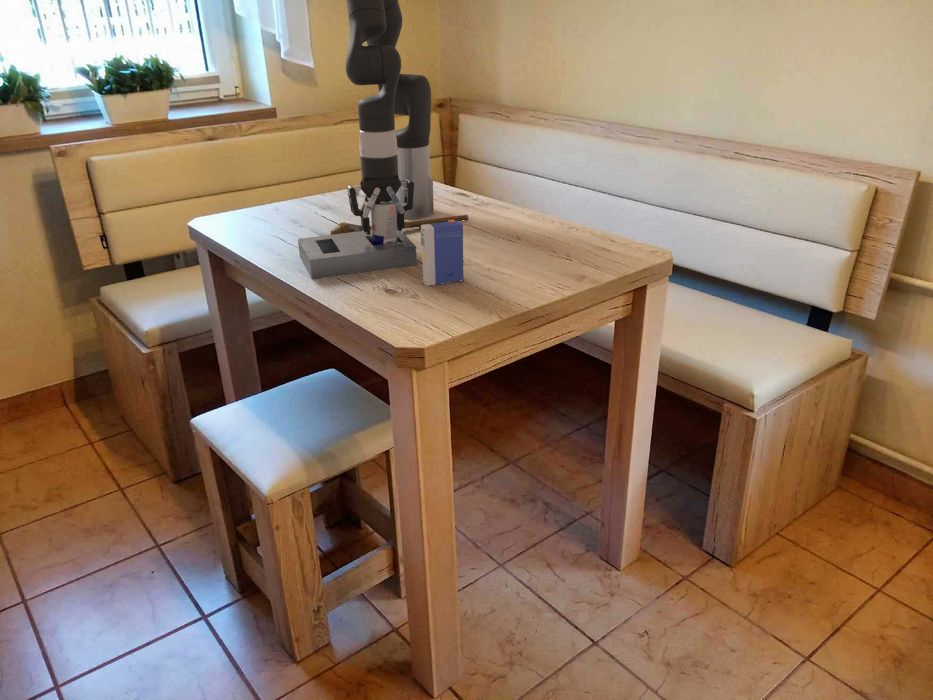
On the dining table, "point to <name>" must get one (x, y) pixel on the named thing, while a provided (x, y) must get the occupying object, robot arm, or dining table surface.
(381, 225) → the energy drink
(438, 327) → the dining table surface
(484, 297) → the dining table surface
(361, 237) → the socket plate
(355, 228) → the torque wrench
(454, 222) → the walkman
